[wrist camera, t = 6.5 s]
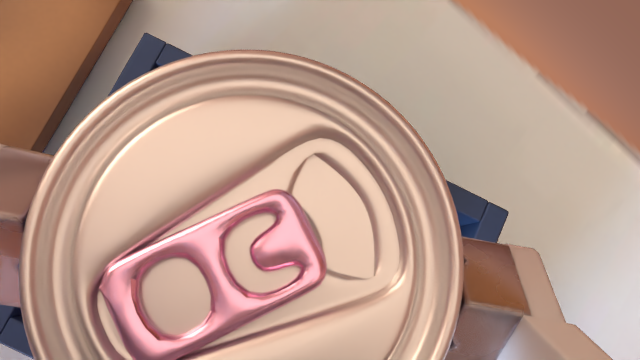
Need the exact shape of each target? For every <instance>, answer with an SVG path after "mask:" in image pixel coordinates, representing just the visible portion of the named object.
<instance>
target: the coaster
mask: <svg viewBox="0 0 640 360" xmlns="http://www.w3.org/2000/svg"><path fill="white" fill-rule="evenodd" d="M132 1H133V0H0V144H2V145H7V146H9V147H10V146H13V147H18V148H22V149H27V150H31V151H36V152H40V153H42V152H43V150H44V149H45V147H46V145H47V144H48V142H49V140H50V139H51V137H52V135H53V134H54V132H55V130H56V129H57V127H58V125H59V124H60V122H61V120H62V118H63V117H64V115H65V113H66V112H67V110H68V108H69V107H70V105H71V103H72V102H73V100H74V98H75V97H76V95H77V93H78V92H79V90H80V88H81V86H82V85H83V83H84V81H85V80H86V78H87V76H88V75H89V73H90V71H91V70H92V68H93V66H94V65H95V63H96V61H97V60H98V58H99V56H100V55H101V53H102V51H103V49H104V48H105V46H106V44H107V43H108V41H109V39H110V38H111V36H112V34H113V33H114V31H115V29H116V28H117V26H118V24H119V23H120V21H121V19H122V18H123V16H124V14H125V12H126V11H127V9H128V7H129V6H130V4H131V2H132Z"/></svg>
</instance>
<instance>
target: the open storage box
mask: <svg viewBox="0 0 640 360" xmlns="http://www.w3.org/2000/svg"><path fill="white" fill-rule="evenodd" d="M191 56H193V55H191V54H189V53H186V52H184V51H182V50H180V49H178V48H176V47H174V46H172V45H170V44H166V42H164V41H162V40H160V39H158V38H156V37H154V36H152V35H150V34H148V33H144V35H143V37H142V38H141V40H140V42H139V44H138V45H137V47H136V49H135V50H134V52H133V54H132V56H131V57H130V59H129V61H128V63H127V64H126V66H125V68H124V69H123V71H122V73H121V75H120V76H119V78H118V80H117V81H116V83H115V85H114V87H113V88H112V90H111V92H110V93H109V95H108V96H110V95H111V94H112V93H114V92H115V91H117V90H118V89H120V88H121V87H123V86H124V85H126V84H127V83H129V82H130V81H132V80H134V79H136V78H138V77H139V76H141V75H143V74H145V73H147V72H149V71H152V70H154V69H156V68H158V67H160V66H163V65H166V64H168V63H171V62H174V61H177V60H180V59H184V58H187V57H191ZM446 182H447V185H448V188H449V190H450V193H451V196H452V198H453V202H454V205H455V208H456V212H457V216H458V221H459V225H460V230H461V236H462V237H467V238H473V239H478V240H483V241H488V242H493V243H497V240H498V238H499V236H500V233H501V231H502V228H503V226H504V223H505V221H506V218H507V216H508V211H507V210H505V209H503V208H501V207H499V206H497V205H495V204H493V203H490V202H488V201H487V200H485V199H483V198H481V197H479V196H477V195H475V194H473V193H471V192H469V191H467V190H465V189H463V188H461V187H459V186H457V185H455V184H453V183H451V182H449V181H447V180H446ZM0 343H1V344H3V345H5V346H7V347H9V348H12V349H14V350H16V351H18V352H20V353H22V354H24V355H26V356H28V357H30V358H32V359H34V357H33V354H32V352H31V349H30V346H29V343H28V339H27V335H26V332H25V328H24V323H23V318H22V313H21V308H20V307H13V306H6V305H0Z"/></svg>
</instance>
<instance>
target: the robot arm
mask: <svg viewBox="0 0 640 360" xmlns="http://www.w3.org/2000/svg"><path fill="white" fill-rule="evenodd" d="M53 157H54V155H50V154H45V153H40V152H36V151H31V150H27V149H22V148H18V147H13V146H10V147H9V146H7V145H2V144H0V305H6V306H13V307H20V308H21V305H20V296H19V259H20V249H21V242H22V236H23V231H24V227H25V222H26V218H27V215H28V212H29V209H30V205H31V202H32V200H33V197H34V195H35V192H36V190H37V187H38V185H39V183H40V181H41V179H42V177H43V175H44V173H45V171H46V169H47V167H48V165H49V164H50V162H51V160H52V158H53ZM461 237H462V236H461ZM462 244H463V258H464V281H463V292H462V300H461V306H460V312H459V317H458V321H457V325H456V329H455V332H454V336H453V339H452V342H451V345H450V348H449V350H448V352H447V355H446V357H445V360H613V359H612V358H611V357H610V356H608V355H607V354H606V353H605V352H604V351H603V350H602V349H601V348H600V347H599V346H598V345H597V344H595V343H594V342H593V341H592V340H591V339H590V338H589V337H588V336H587V335H586V334H585V333H583V332H582V331H581V330H580V329H579V328H578V327H577V326H576V325H573V324H568V323H566V321H565V319H564V316H563V313H562V311H561V308H560V306H559V303H558V301H557V298H556V296H555V293H554V291H553V288H552V286H551V283H550V280H549V278H548V275H547V273H546V270H545V268H544V265H543V263H542V260H541V258H540V255H539V253H538V252H537V251H536V250H535V249H533V248H527V247H521V246H515V245H510V244H504V245H503V244H499V243H493V242H488V241H483V240H478V239H473V238H467V237H462Z"/></svg>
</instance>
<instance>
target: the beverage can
mask: <svg viewBox="0 0 640 360" xmlns="http://www.w3.org/2000/svg"><path fill="white" fill-rule="evenodd" d="M463 281H464V258H463V244H462V237H461V230H460V225H459V221H458V216H457V212H456V208H455V205H454V202H453V198H452V196H451V193H450V190H449V188H448V185H447V182H446V180H445V178H444V176H443V174H442V172H441V170H440V167H439V166H438V164H437V162H436V160H435V158H434V157H433V155H432V153H431V152H430V150H429V149H428V147H427V146H426V144H425V143H424V141H423V140H422V138H421V137H420V136H419V135H418V133H417V132H416V131H415V129H414V128H413V127H412V126H411V125H410V124H409V122H408V121H407V120H406V119H405V118H404V117H403V116H402V115H401V114H400V113H399V112H398V111H397V110H396V109H395V108H394V107H393V106H392V105H391V104H390V103H388V102H387V101H386V100H385V99H383V98H382V97H381V96H380V95H379V94H377V93H376V92H375V91H373V90H372V89H370V88H369V87H367V86H366V85H364V84H363V83H361V82H359V81H358V80H356V79H354V78H353V77H351V76H349V75H347V74H345V73H343V72H341V71H339V70H337V69H335V68H332V67H330V66H328V65H325V64H323V63H320V62H317V61H314V60H311V59H308V58H304V57H300V56H296V55H292V54H287V53H281V52H275V51H264V50H226V51H218V52H210V53H205V54H200V55H195V56H191V57H187V58H184V59H180V60H177V61H174V62H171V63H168V64H166V65H163V66H160V67H158V68H156V69H154V70H152V71H149V72H147V73H145V74H143V75H141V76H139V77H138V78H136V79H134V80H132V81H130V82H129V83H127V84H126V85H124V86H123V87H121V88H120V89H118V90H117V91H115V92H114V93H112V94H111V95H110V96H108V97H107V98H106V99H105V100H103V101H102V102H101V103H100V104H99V105H97V106H96V107H95V108H94V109H93V110H92V111H91V112H90V113H88V115H87V116H86V117H85V118H84V119H83V120H82V121H81V122H80V123H79V124H78V125H77V126H76V127H75V128H74V130H73V131H72V132H71V133H70V134H69V136H68V137H67V138H66V139H65V141H64V142H63V144H62V145H61V146H60V148H59V149H58V151H57V152H56V154H55V155H54V157H53V158H52V160H51V162H50V164H49V165H48V167H47V169H46V171H45V173H44V175H43V177H42V179H41V181H40V183H39V185H38V187H37V190H36V192H35V195H34V197H33V200H32V202H31V205H30V209H29V212H28V215H27V218H26V222H25V227H24V231H23V236H22V242H21V249H20V259H19V296H20V305H21V313H22V318H23V323H24V328H25V332H26V335H27V339H28V343H29V346H30V349H31V352H32V354H33V357H34V360H445V357H446V355H447V352H448V350H449V348H450V345H451V342H452V339H453V336H454V332H455V329H456V325H457V321H458V317H459V312H460V306H461V300H462V292H463Z"/></svg>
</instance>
